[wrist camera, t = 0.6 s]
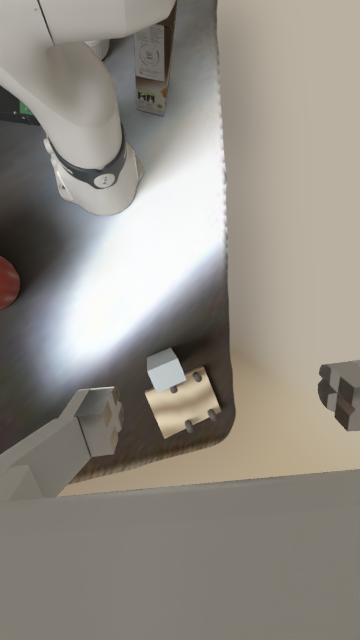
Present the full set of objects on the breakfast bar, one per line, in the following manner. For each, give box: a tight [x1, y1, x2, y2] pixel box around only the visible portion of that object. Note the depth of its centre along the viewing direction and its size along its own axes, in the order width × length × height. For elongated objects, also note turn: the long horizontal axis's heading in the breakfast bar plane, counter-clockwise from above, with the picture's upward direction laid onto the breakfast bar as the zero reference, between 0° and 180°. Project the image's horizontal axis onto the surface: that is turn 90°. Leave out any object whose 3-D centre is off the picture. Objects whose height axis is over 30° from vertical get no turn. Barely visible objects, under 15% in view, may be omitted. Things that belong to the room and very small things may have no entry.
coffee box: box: [134, 0, 177, 116], centre depth 42 cm, size 9×6×16 cm
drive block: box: [147, 348, 186, 393], centre depth 47 cm, size 4×6×12 cm
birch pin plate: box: [145, 366, 221, 439], centre depth 52 cm, size 12×15×4 cm
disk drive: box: [0, 85, 41, 126], centre depth 45 cm, size 10×3×15 cm
